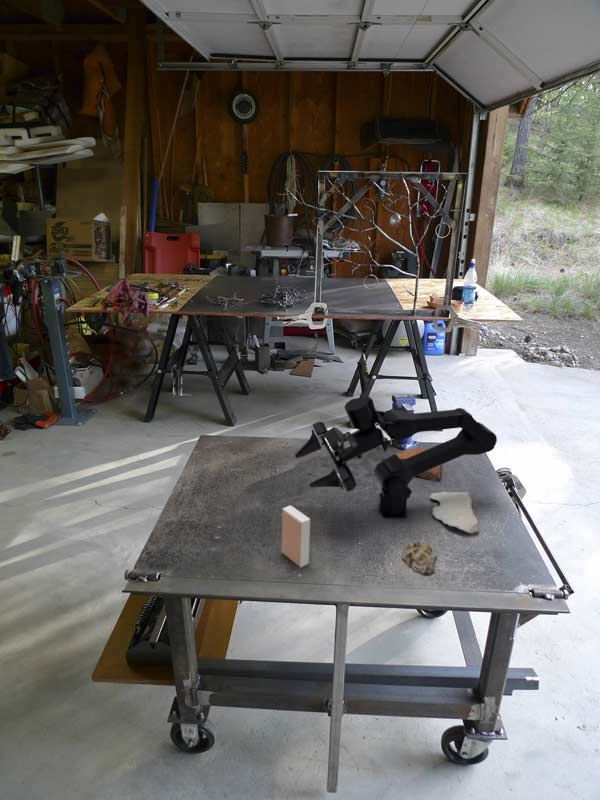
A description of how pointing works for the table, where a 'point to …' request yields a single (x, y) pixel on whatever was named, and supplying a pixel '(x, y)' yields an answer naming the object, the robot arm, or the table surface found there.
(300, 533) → the tile
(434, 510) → the stone
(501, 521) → the table surface
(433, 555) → the mineral rock
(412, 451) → the ceramic shard
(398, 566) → the table surface
